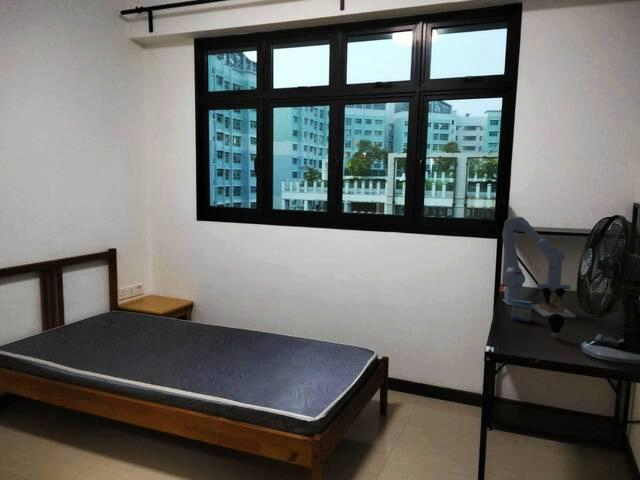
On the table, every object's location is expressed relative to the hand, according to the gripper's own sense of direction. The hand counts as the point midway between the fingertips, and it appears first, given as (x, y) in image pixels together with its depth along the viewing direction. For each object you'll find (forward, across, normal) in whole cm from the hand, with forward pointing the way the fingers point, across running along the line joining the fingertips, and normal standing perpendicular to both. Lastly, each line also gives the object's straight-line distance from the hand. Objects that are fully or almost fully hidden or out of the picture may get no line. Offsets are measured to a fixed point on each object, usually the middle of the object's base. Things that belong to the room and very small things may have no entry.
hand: (552, 303), depth 225 cm
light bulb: (+4, -16, -40) cm, 43 cm away
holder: (+4, 0, 0) cm, 4 cm away
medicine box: (+4, -20, -15) cm, 25 cm away
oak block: (+2, 0, 0) cm, 2 cm away
